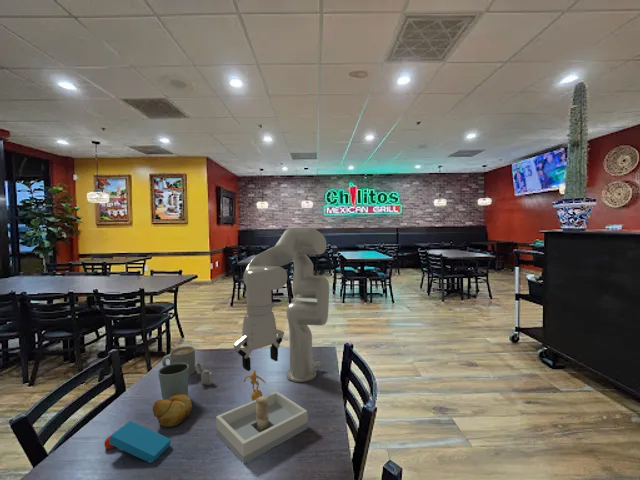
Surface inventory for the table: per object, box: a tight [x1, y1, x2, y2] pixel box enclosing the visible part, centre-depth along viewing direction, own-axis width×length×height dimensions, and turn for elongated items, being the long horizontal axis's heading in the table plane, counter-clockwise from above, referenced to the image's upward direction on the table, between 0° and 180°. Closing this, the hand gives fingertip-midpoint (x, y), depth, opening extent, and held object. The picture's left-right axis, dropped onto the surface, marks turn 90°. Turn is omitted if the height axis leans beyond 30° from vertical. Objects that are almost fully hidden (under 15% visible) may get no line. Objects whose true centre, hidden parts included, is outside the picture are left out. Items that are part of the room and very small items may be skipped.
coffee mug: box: [161, 345, 196, 376], centre depth 139 cm, size 13×10×10 cm
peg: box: [256, 395, 270, 433], centre depth 97 cm, size 4×4×10 cm
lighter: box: [194, 362, 213, 386], centre depth 129 cm, size 7×2×8 cm, turn 76°
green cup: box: [157, 363, 189, 400], centre depth 116 cm, size 10×10×12 cm
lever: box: [103, 420, 172, 463], centre depth 90 cm, size 7×7×18 cm
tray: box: [215, 390, 309, 464], centre depth 97 cm, size 22×17×6 cm
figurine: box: [243, 370, 267, 401], centre depth 113 cm, size 8×6×12 cm
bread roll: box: [152, 394, 193, 428], centre depth 105 cm, size 13×10×8 cm
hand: (261, 364), depth 97 cm, fingers open, 9 cm apart
